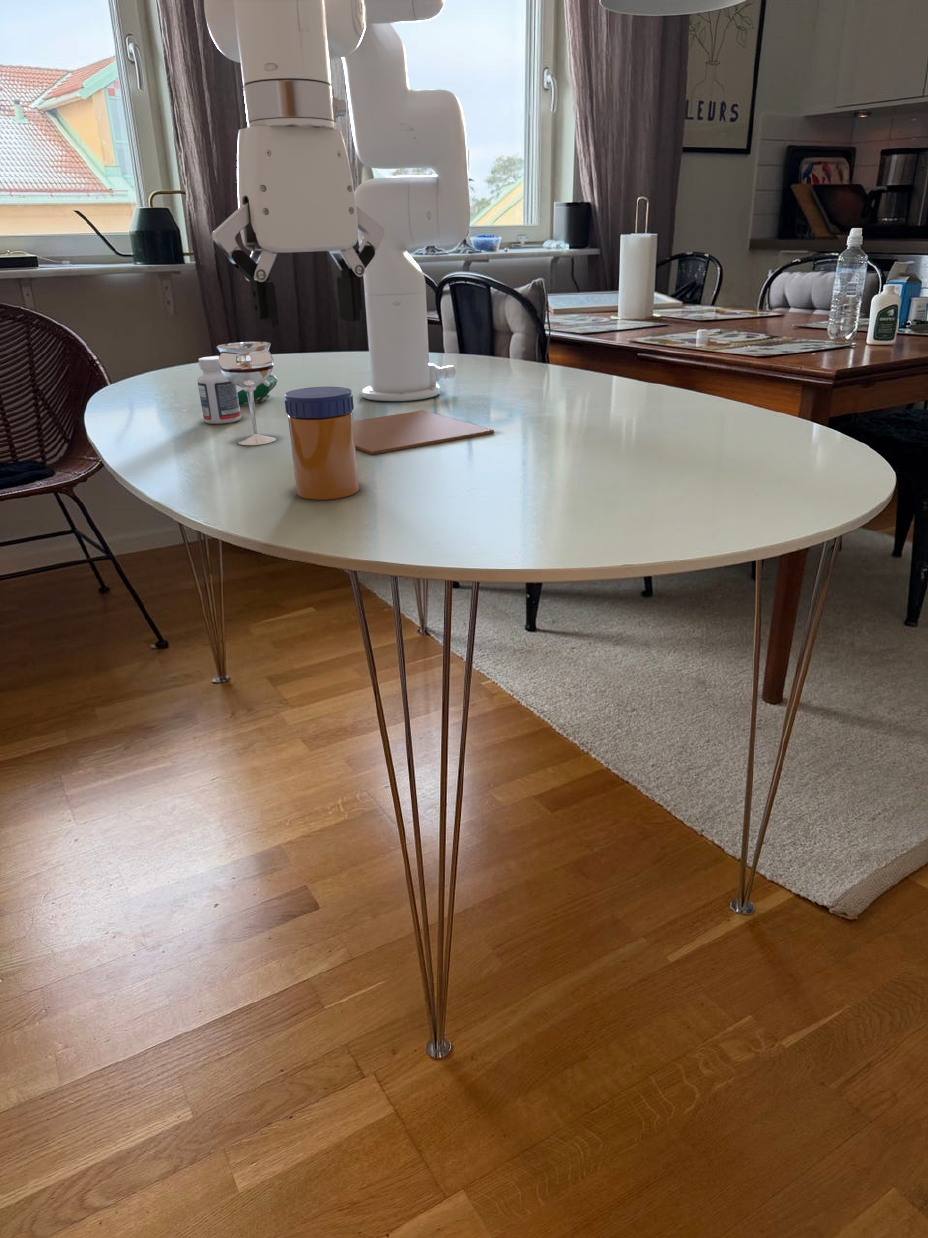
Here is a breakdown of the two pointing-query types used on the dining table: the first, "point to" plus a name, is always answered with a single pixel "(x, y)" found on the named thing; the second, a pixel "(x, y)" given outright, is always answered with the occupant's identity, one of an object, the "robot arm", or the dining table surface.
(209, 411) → the pill bottle
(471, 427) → the mat
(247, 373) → the wineglass
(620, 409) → the dining table surface
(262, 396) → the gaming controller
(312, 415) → the lid
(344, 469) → the jar
